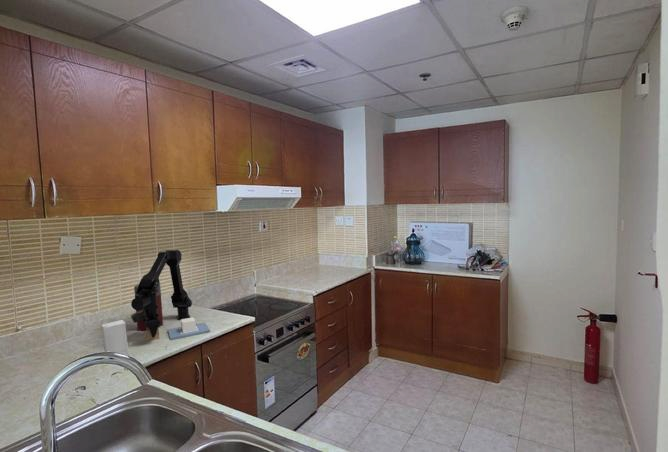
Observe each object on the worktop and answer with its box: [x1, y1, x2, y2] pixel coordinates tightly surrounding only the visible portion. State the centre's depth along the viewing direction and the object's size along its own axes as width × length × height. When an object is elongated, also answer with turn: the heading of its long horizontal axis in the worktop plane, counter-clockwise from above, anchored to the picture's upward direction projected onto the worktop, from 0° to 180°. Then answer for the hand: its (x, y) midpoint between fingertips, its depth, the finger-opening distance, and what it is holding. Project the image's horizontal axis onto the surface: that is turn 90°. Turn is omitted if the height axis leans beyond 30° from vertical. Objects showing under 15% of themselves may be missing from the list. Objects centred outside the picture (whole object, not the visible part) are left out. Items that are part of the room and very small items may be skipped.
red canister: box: [133, 282, 164, 332], centre depth 192 cm, size 9×11×28 cm
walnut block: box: [146, 327, 160, 342], centre depth 178 cm, size 5×5×5 cm
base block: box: [180, 317, 197, 333], centre depth 185 cm, size 6×6×5 cm
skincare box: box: [101, 319, 129, 356], centre depth 157 cm, size 8×6×15 cm
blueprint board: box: [167, 322, 211, 341], centre depth 185 cm, size 14×18×1 cm
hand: (152, 335), depth 178 cm, fingers closed on walnut block, 5 cm apart
